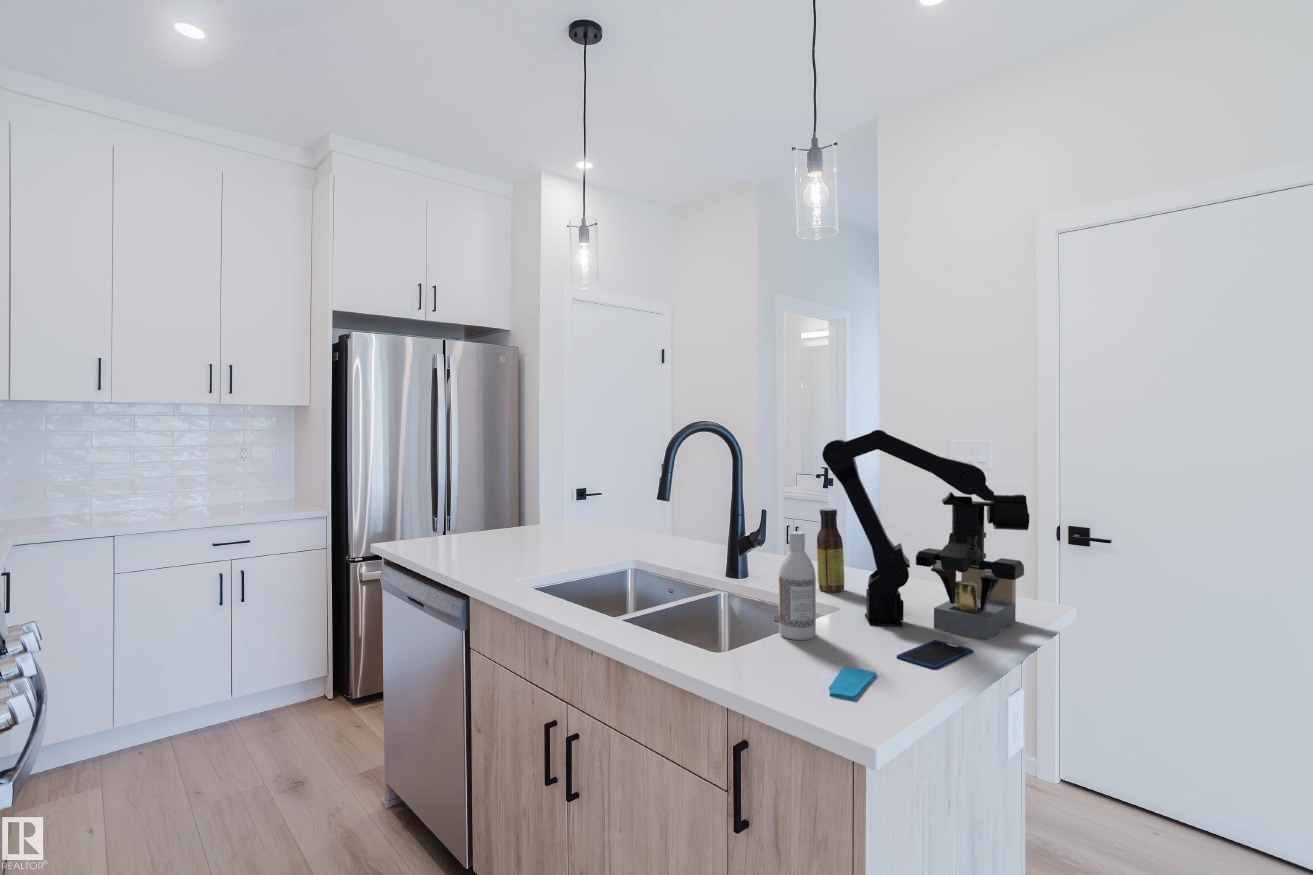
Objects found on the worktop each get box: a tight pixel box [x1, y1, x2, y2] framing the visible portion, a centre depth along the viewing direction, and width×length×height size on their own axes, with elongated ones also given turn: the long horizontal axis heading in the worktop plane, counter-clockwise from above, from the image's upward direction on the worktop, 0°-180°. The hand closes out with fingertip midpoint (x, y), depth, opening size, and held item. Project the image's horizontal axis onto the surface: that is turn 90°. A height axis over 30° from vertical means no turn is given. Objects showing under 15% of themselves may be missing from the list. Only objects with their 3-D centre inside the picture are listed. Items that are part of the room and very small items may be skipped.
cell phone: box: [896, 639, 974, 671], centre depth 115 cm, size 7×14×1 cm, turn 128°
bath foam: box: [778, 530, 817, 641], centre depth 126 cm, size 7×7×20 cm
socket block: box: [933, 568, 1017, 641], centre depth 132 cm, size 16×11×10 cm
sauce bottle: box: [816, 507, 845, 593], centre depth 159 cm, size 7×6×20 cm
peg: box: [954, 580, 978, 615], centre depth 129 cm, size 4×4×8 cm
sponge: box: [828, 666, 877, 702], centre depth 103 cm, size 2×12×6 cm
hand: (967, 606), depth 129 cm, fingers open, 5 cm apart
